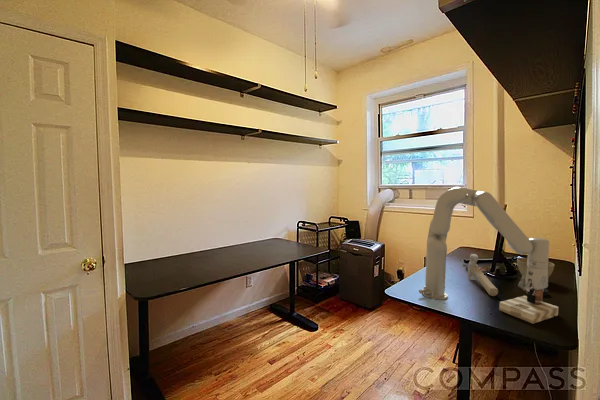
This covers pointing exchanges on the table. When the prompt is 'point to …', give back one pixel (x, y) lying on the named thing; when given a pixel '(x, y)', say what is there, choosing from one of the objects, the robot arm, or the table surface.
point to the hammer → (480, 276)
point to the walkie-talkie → (479, 268)
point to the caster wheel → (523, 284)
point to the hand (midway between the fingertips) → (534, 301)
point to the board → (528, 309)
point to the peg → (538, 296)
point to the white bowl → (523, 266)
